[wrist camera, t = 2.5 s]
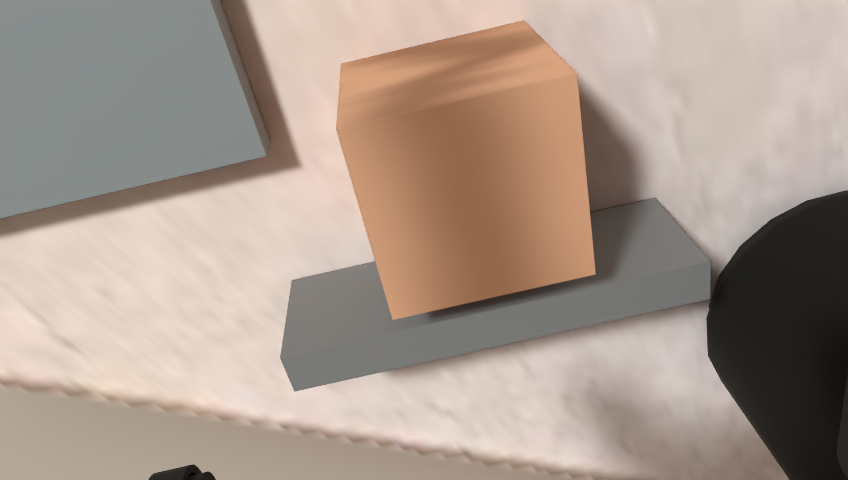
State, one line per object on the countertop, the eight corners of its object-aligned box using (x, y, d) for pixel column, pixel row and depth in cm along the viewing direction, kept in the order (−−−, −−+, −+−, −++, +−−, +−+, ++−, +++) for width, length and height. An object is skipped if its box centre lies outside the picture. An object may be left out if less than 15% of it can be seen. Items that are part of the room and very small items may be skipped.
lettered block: (523, 19, 21) (576, 73, 16) (545, 190, 24) (596, 281, 19) (341, 62, 21) (336, 129, 16) (386, 227, 25) (394, 326, 19)
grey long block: (655, 197, 25) (710, 261, 21) (658, 278, 27) (709, 351, 23) (291, 280, 25) (280, 357, 21) (320, 354, 27) (314, 437, 23)
